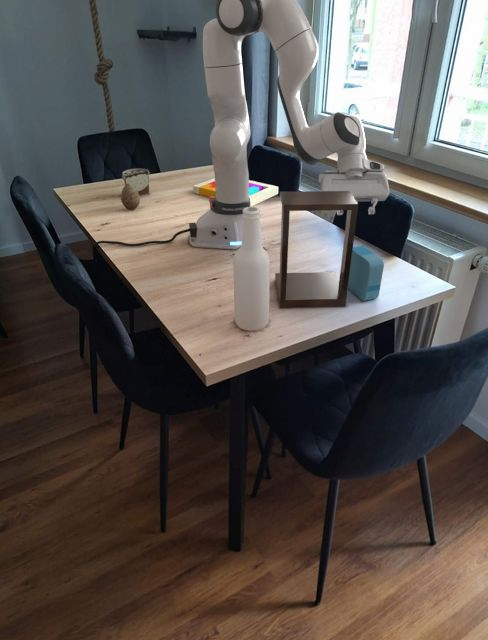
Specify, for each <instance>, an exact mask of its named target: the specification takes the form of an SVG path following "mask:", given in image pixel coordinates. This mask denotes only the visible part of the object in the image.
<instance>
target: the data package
mask: <svg viewBox="0 0 488 640" xmlns="http://www.w3.org/2000/svg"><path fill="white" fill-rule="evenodd" d="M384 267H385V262H384V260H383V258H381V257H380V256H378V254H376V253H374V252H373V251H371V250H370V249H369V248H367V247H366V246H365V245H359V246H353V250H352V258H351V265H350V273H349V281H348V289H349V290H350V291H351V292H352V293H353V294H354V295H355V296H356V297H357V298H359V300H361V301H362V302H365V301H370V300H376V299H378V298H379V296H380V292H381V285H382V280H383V274H384Z"/></svg>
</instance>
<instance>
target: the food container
mask: <svg viewBox="0 0 488 640" xmlns="http://www.w3.org/2000/svg"><path fill="white" fill-rule="evenodd" d="M150 176H151V172H150V170H149V169H148V168H130V169H126V170H123V171H122V174H121V179H122V180H123V181H124V186H125V185H126V184H131V185H132V186H133V187H134V188H135V189H136V190H137V192H138V194H139V197H140V198H141V197H144V196H148V195H150Z"/></svg>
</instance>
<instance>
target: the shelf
mask: <svg viewBox="0 0 488 640" xmlns="http://www.w3.org/2000/svg"><path fill="white" fill-rule="evenodd" d="M279 199H280V204H281V222H280V223H281V224H280V226H281V227H280V247H279V249H280V250H279V251H280V253H279V272H276V273H275V274H274V282H275V286H276V293H277V294H276V295H277V300H278V305H279V309H296V308H297V309H300V308H343V307H344V308H345V307H346V305H347V304H346V303H347V297H348V296H347V295H348V289H349V288H348V281H349V273H350V265H351V258H352V250H353V247H354V242H355V233H356V225H357V219H358V218H357V217H358V209H359V202H358V201H356V200H355V198H354V197H353V195H352V194H351V192H350V191H320V190H314V191H313V190H312V191H311V190H309V191H307V190H306V191H279ZM337 210H343V211H346V219H345V228H344V235H343V236H344V238H343V246H342V255H341V264H340V270H339V271H340V272H339V278H338V275H337V272H336V271H325V272H323V271H322V272H321V271H319V272H315V271H314V272H288V261H289V260H288V257H289V237H290V235H289V234H290V215H291V214H290V213H291V212H310V211H311V212H314V211H315V212H316V211H320V212H321V211H322V212H323V211H337Z"/></svg>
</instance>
